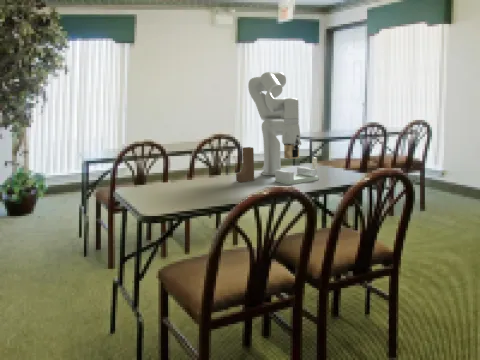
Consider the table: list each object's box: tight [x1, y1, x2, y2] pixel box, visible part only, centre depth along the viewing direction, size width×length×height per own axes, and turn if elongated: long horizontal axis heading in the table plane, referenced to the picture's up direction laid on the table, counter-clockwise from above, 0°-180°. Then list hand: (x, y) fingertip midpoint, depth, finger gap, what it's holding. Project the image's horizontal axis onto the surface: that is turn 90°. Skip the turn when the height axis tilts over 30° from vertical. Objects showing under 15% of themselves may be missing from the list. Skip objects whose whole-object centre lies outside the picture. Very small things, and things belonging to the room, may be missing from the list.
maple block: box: [283, 144, 300, 160], centre depth 256 cm, size 5×6×7 cm
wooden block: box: [235, 146, 255, 183], centre depth 262 cm, size 9×4×18 cm, turn 120°
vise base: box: [274, 169, 320, 185], centre depth 261 cm, size 12×20×6 cm, turn 122°
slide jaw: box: [296, 157, 318, 177], centre depth 265 cm, size 12×9×9 cm
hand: (291, 156), depth 257 cm, fingers closed on maple block, 5 cm apart
